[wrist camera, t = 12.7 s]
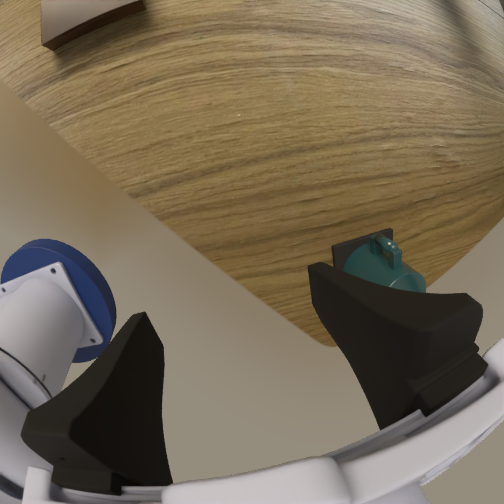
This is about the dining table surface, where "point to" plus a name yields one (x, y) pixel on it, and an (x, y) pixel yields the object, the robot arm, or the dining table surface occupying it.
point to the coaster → (353, 247)
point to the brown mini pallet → (80, 17)
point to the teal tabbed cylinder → (384, 265)
